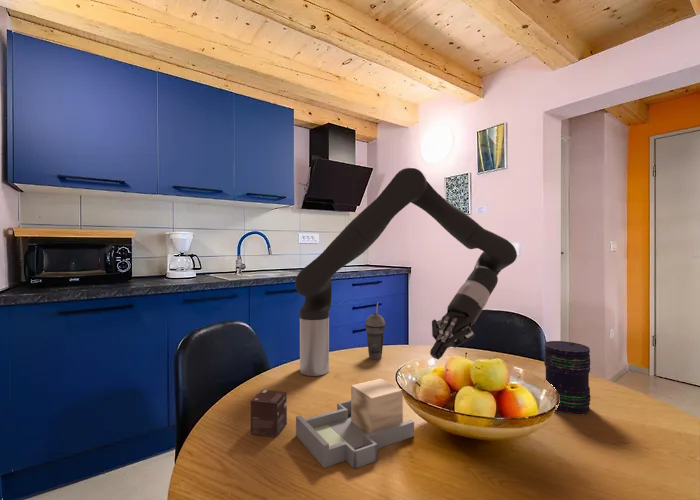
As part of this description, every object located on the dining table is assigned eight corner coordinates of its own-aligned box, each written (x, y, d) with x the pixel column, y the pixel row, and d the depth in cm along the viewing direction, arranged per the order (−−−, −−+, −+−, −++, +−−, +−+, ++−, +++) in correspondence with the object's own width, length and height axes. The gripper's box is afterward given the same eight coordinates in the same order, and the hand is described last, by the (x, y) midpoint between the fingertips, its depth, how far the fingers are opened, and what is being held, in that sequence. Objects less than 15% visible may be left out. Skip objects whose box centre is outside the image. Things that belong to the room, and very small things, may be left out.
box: (276, 438, 74) (276, 402, 74) (249, 435, 75) (249, 400, 75) (287, 424, 80) (287, 391, 80) (262, 421, 81) (262, 389, 81)
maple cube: (351, 421, 79) (351, 385, 79) (380, 412, 83) (380, 378, 83) (371, 437, 72) (371, 398, 72) (402, 427, 76) (402, 390, 76)
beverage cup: (375, 353, 134) (375, 299, 134) (389, 357, 128) (389, 301, 128) (361, 357, 129) (360, 301, 129) (375, 361, 123) (375, 304, 123)
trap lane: (290, 429, 78) (290, 410, 78) (370, 407, 88) (370, 390, 88) (331, 477, 61) (331, 454, 61) (424, 443, 72) (424, 423, 72)
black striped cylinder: (579, 419, 82) (580, 354, 82) (536, 404, 90) (536, 344, 90) (597, 407, 88) (597, 347, 88) (555, 394, 96) (555, 338, 96)
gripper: (442, 290, 97) (407, 341, 91) (483, 295, 86) (446, 354, 79) (456, 307, 100) (423, 358, 93) (497, 315, 88) (463, 374, 82)
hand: (434, 356), depth 86 cm, fingers closed
